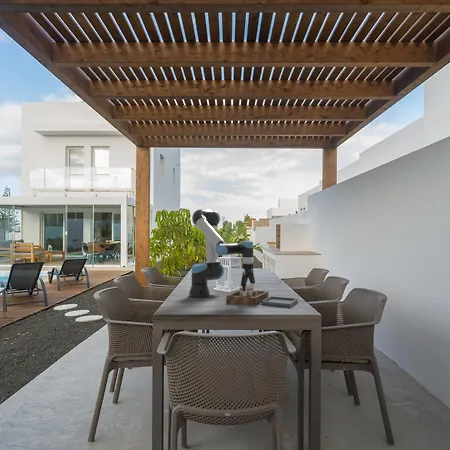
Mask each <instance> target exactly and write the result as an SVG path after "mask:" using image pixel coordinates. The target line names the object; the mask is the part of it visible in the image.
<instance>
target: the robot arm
mask: <svg viewBox="0 0 450 450" xmlns="http://www.w3.org/2000/svg"><path fill="white" fill-rule="evenodd" d="M191 218H192V219H191V221H192V223H193V225H194V226H195V228H197V229H200V231H201V233H203V234H204V237H205V248H206V251H205V252H206V261H205V263H203V262H202V263H196V264H193V265H192V266H191V270H190V271H191V285H190V290H189V293H188V296H189V297H190V298H195V299H197V298H198V299H199V298H202V297H203V298H208V297H210V296H211V293H210V290H209V287H208V281H209V282H210V281H216V280H220V279H221V278H222V277H223V276H224V274H225V268H224V266H223V264H221V261H220V260H219V256H226V255H227V256H228V255H241V256H242V257H241V258H242V262H241V263H242V270H244V271H242V276H241V282H240V287H241V286H242V296H246V284H248V281H249V282H250V283H249V286H250V287H252V288H253V289H252V290H254V289H255V286H254V284H256V279H255V274H254V260H255V259H254V242H253V241H252V240H242V243H239V242H238V243H237V242H235V243H233V242H232V243H226V241H225V240H224V239H223V238H222V237H221V236H220V234H219V233H218V232H217V228H218V227H219V226H218V224H220V221H221V217H220V214H219V212H218V211H217V210H213V209H196V210H195V211H194V212H193V214H192V216H191ZM252 293H254V291H252Z"/></svg>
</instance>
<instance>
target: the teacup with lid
mask: <svg viewBox="0 0 450 450" xmlns="http://www.w3.org/2000/svg"><path fill="white" fill-rule="evenodd" d="M252 289H253V288H252V287H250V284H249V285H248V283H246V296H243V297H256V295H257V292H256V291H257V290H256V291H255V290H252ZM239 290H240V296H242V286H241V285H240V286H239ZM252 291H255V292H256V295H255V296H252Z"/></svg>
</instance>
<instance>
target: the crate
mask: <svg viewBox="0 0 450 450" xmlns="http://www.w3.org/2000/svg"><path fill="white" fill-rule="evenodd" d="M255 291H256V292H257V295H256V292H255ZM255 291H254V293H252V296H255V295H256V297H243V296H240V289H239V290H237V291H234V292H231V293H229V294H227V295H226V298H225V299H226V304H232V305H243V306H258V305H260V304H261V301H263V300H264V299H266V298H268V297H269V291H266V290H257V289H256V290H255Z"/></svg>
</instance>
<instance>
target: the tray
mask: <svg viewBox="0 0 450 450" xmlns="http://www.w3.org/2000/svg"><path fill="white" fill-rule="evenodd" d="M298 300H299V299H298V298H296V297H286V296H285V297H284V296H272V295H270V296H268V298H266V299H264V300H263V301H261V303H260V305H261V306H267V307H276V308H287V307H288V308H289V309H291V308H292V307H293V306H294V305H296V304H298V302H299V301H298Z"/></svg>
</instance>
